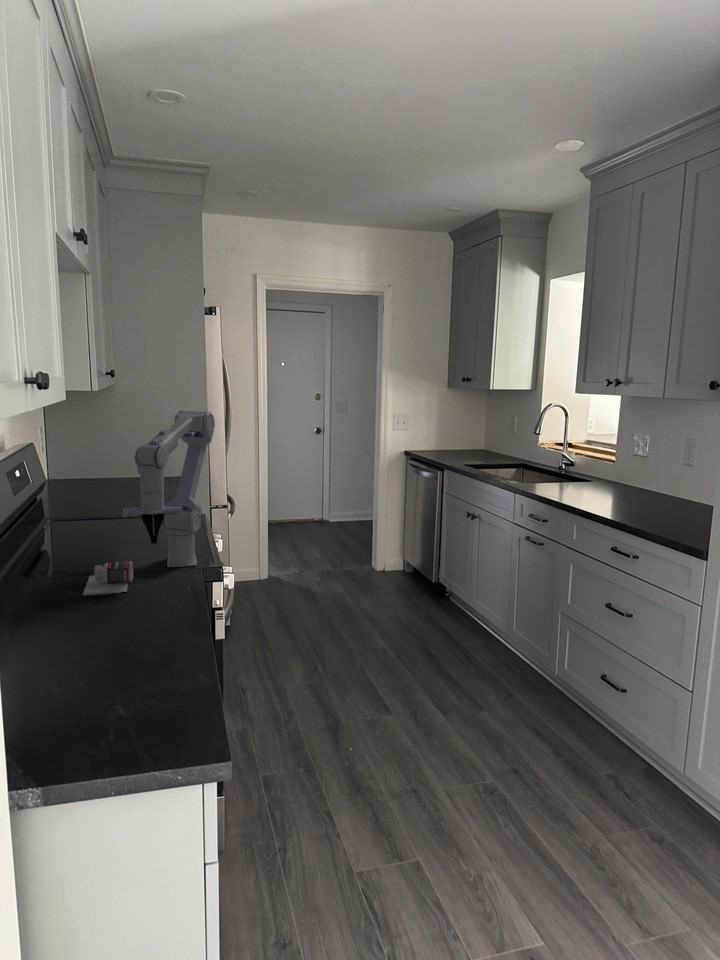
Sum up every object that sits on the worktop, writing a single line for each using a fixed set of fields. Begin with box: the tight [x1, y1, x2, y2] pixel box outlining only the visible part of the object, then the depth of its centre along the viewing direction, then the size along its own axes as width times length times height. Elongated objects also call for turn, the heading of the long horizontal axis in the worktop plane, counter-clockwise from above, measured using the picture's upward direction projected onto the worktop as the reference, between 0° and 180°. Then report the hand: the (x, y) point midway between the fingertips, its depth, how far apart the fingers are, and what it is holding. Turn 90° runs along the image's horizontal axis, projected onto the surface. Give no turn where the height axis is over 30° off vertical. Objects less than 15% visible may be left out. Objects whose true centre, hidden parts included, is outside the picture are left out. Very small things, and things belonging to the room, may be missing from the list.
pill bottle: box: [93, 560, 134, 583], centre depth 166 cm, size 5×5×9 cm
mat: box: [82, 575, 129, 596], centre depth 165 cm, size 14×10×1 cm
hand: (154, 542), depth 168 cm, fingers closed
